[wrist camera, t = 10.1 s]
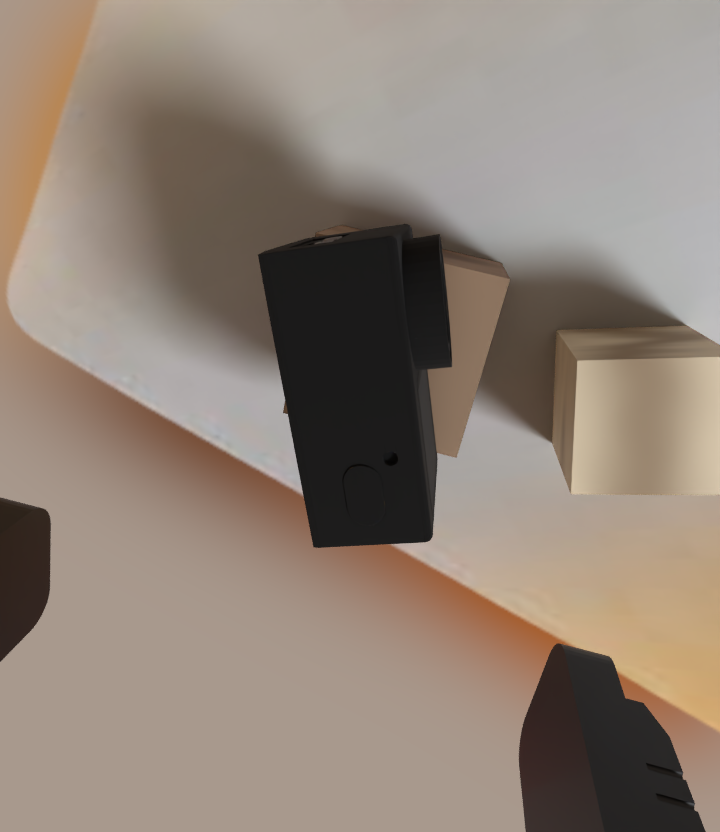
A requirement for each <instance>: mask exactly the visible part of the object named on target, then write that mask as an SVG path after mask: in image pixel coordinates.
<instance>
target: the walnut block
mask: <svg viewBox="0 0 720 832" xmlns="http://www.w3.org/2000/svg"><path fill="white" fill-rule="evenodd" d="M354 231H361V230H360V229H356V228H352V227H348V226H343V225H339V226H336V227H333V228H329V229H326V230H323V231H320V232H316V234H315V237H319V236H326V235H333V234H340V233H347V232H354ZM442 253H443V261H444V269H445V279H446V288H447V299H448V310H449V321H450V334H451V348H452V367H449V368H438V369H427V370H428V379H429V388H430V397H431V406H432V415H433V424H434V433H435V441H436V450H437V453H440V454H444V455H448V456H452V457H456V458H457V454H458V451H459V448H460V444H461V441H462V438H463V434H464V431H465V428H466V424H467V421H468V418H469V414H470V411H471V408H472V404H473V401H474V398H475V394H476V391H477V388H478V385H479V381H480V378H481V375H482V371H483V368H484V365H485V361H486V358H487V355H488V351H489V348H490V345H491V341H492V338H493V335H494V331H495V328H496V325H497V321H498V318H499V315H500V311H501V308H502V305H503V301H504V298H505V295H506V291H507V288H508V285H509V281H510V278H509V276H508V274H507V272H506V271H505V269H504V267H503V265H502V263H499V262H495V261H491V260H486V259H482V258H478V257H474V256H470V255H465V254H461V253H457V252H453V251H449V250H444V249H442ZM283 413H286V414H288V411H287V406H286V401H285V405H284V411H283Z"/></svg>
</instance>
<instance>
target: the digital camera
mask: <svg viewBox="0 0 720 832" xmlns="http://www.w3.org/2000/svg"><path fill="white" fill-rule="evenodd" d="M258 257H259V262H260V268H261V273H262V278H263V284H264V289H265V295H266V300H267V306H268V311H269V316H270V322H271V327H272V332H273V338H274V343H275V348H276V353H277V359H278V364H279V369H280V375H281V380H282V385H283V390H284V396H285V401H286V406H287V411H288V417H289V422H290V427H291V432H292V438H293V443H294V448H295V454H296V459H297V464H298V469H299V474H300V479H301V485H302V490H303V495H304V500H305V505H306V510H307V515H308V520H309V526H310V531H311V536H312V541H313V546H314V547H318V548H321V547H340V546H359V545H378V544H399V543H419V542H427V541H430V540H431V538H432V536H433V521H434V505H435V490H436V474H437V450H436V441H435V433H434V424H433V415H432V406H431V397H430V388H429V379H428V370H427V369H438V368H449V367H452V348H451V334H450V321H449V310H448V299H447V288H446V279H445V269H444V261H443V253H442V245H441V239H440V235H433V236H426V237H420V238H414V239H413V236H412V228H411V226H410V225H408V224H403V225H396V226H389V227H382V228H375V229H368V230H361V231H354V232H347V233H340V234H333V235H326V236H319V237H313V238H307V239H304V240H300V241H297V242H294V243H291V244H287V245H284V246H281V247H277V248H274V249H271V250H268V251H265V252H263V253H261V254H259V255H258Z"/></svg>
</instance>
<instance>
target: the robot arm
mask: <svg viewBox="0 0 720 832" xmlns="http://www.w3.org/2000/svg"><path fill="white" fill-rule="evenodd" d="M50 531H51V523H50V516H49V514H48V512H47V511H46V510H45V509H42V508H39V507H35V506H31V505H27V504H23V503H20V502H16V501H11V500H8V499H4V498H0V661H1V660H3V658H5V656H6V655H7V654H8V653H9V652H10V651H11V650H12V649H13V648H14V647H15V646H16V645H17V644H18V643H19V642H20V641H21V640H22V639H23V638H24V637H25V636H26V635H27V634H28V633H29V632H30V631H31V630H32V629H33V627H34V626H35V625H36V623H37V622H38V620H39V619H40V617H41V615H42V613H43V611H44V609H45V606H46V604H47V600H48V596H49V591H50ZM519 767H520V778H521V788H522V797H523V807H524V817H525V828H526V832H705V829H704V827H703V824H702V821H701V819H700V816H699V814H698V812H696V811H695V810H694V805H695V803H694V800H693V798H692V795H691V792H690V790H689V787H688V784H687V782H686V780H683V777H682V775H683V771H682V769H681V766H680V763H679V761H678V758H677V755H676V753H675V751H674V748H673V745H672V742H671V740H670V737H669V736H668V734H667V733H666V732H665V730H664V729H663V728H662V727H661V725H660V724H659V723H658V721H657V720H656V719H655V718H654V716H653V715H652V714H651V712H650V711H649V710H648V708H647V707H646V706H645V705H644V703H641V702H637V701H634V700H630V699H626V698H625V696H624V693H623V690H622V687H621V684H620V681H619V678H618V674H617V671H616V668H615V665H614V663H613V661H612V659H611V658H610V657H609V656H606V655H602V654H598V653H594V652H590V651H586V650H582V649H578V648H575V647H571V646H567V645H563V644H556V645H555V646H554V647H553V649H552V650H551V653H550V655H549V657H548V660H547V662H546V665H545V668H544V670H543V673H542V676H541V678H540V681H539V683H538V686H537V689H536V691H535V694H534V696H533V699H532V701H531V704H530V707H529V709H528V712H527V714H526V717H525V720H524V724H523V728H522V732H521V738H520V747H519Z"/></svg>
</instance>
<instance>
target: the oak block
mask: <svg viewBox="0 0 720 832" xmlns="http://www.w3.org/2000/svg"><path fill="white" fill-rule="evenodd" d="M552 444H553V447H554V449H555V452H556V455H557V458H558V460H559V463H560V466H561V469H562V471H563V474H564V477H565V479H566V482H567V485H568V488H569V490H570V493H571V494H606V495H720V345H719V344H717V343H715V342H714V341H712V340H710V339H709V338H707V337H705V336H704V335H702V334H700V333H699V332H697V331H695V330H694V329H692V328H690V327H689V326H687V325H685V326H657V327H628V328H599V329H571V330H556V352H555V380H554V407H553V434H552Z"/></svg>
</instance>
